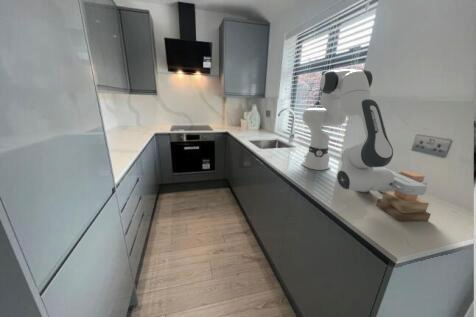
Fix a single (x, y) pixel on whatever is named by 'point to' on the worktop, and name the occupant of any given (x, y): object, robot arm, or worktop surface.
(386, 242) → the worktop surface
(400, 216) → the tower base
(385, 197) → the tower top
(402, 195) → the tall block
